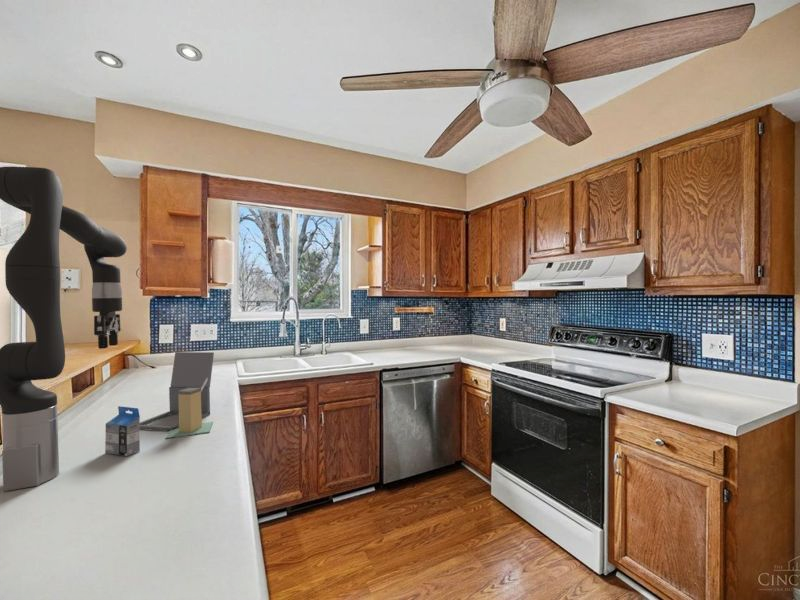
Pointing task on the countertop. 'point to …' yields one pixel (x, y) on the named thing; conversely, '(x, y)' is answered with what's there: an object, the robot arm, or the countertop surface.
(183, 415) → the block
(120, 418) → the label tape box
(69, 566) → the countertop surface
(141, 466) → the countertop surface
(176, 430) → the mat
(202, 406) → the case
